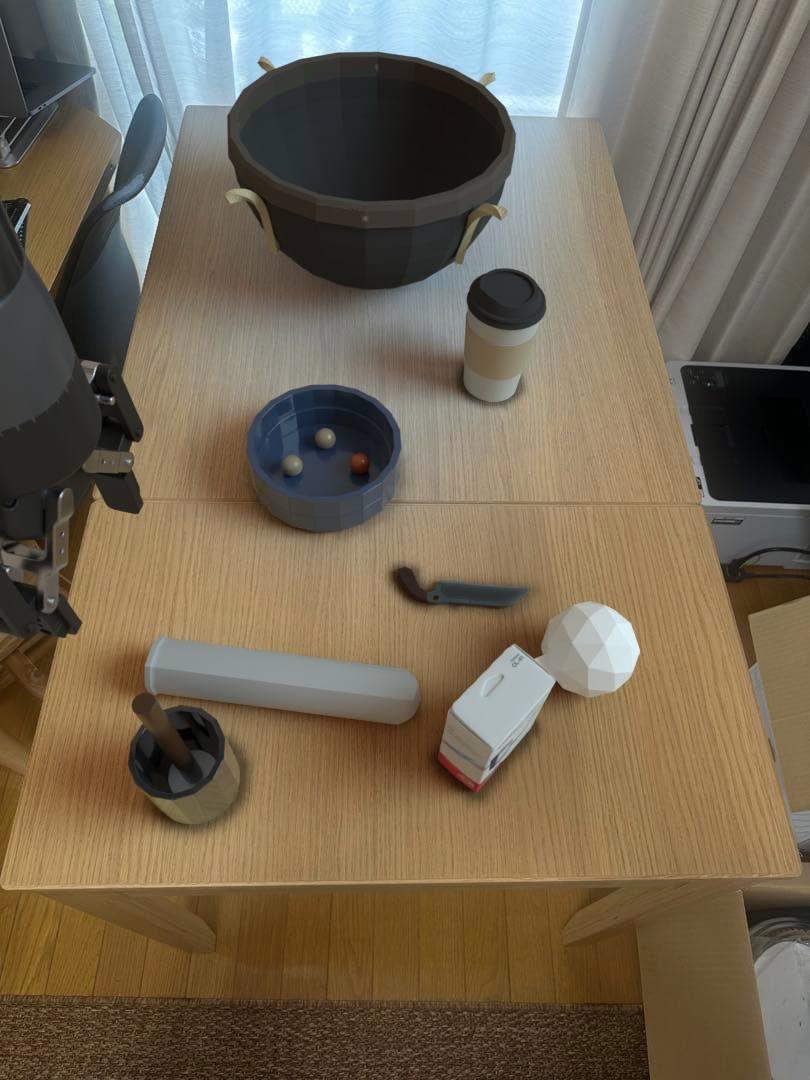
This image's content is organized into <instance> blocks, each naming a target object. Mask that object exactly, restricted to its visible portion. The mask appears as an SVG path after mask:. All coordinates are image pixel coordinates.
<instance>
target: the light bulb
mask: <svg viewBox="0 0 810 1080" xmlns="http://www.w3.org/2000/svg"><path fill="white" fill-rule="evenodd" d="M540 649H541V654H542V655H540V656H537V657H535V658H533V659H534V660H536V661H537V662H538V663H539V664H540V665H541V666H543V667H544V668H545V669H546V670H547V671H548V672H549V673H550V674H551V675H552V676H553V677H554V678H555V679H556V682H557V683H558V684H559V685H560V687H561V688H562V689H563V690H566V691H567V692H568V691H569V692H571V693H573V694H576V695H579V696H582V697H584V698H587V699H591V698H595V697H599V696H604V695H607V694H611V693H615V692H616V691H617V690H618V689H620V687H621V686H622V685H624V684H625V683H626V682H627V681H628V680H629V679H630V678H631V676H632V675H633V673H634V670H635V668H636V664H637V661H638V659H639V657H640V653H641V649H640V647H639V643H638V641H637V638H636V635H635V631H634V629H633V626H632V623H631V622H630V621H629V620H627V618H625V617H624V616H623V615H622V614H621V613H619V611H617V610H615V609H614V608H611V607H610V606H608V605H605V604H602V603H598V602H595V601H593V600H592V601H591V600H589V601H583V602H579V603H573V604H572V605H570V606H568V607H567V608H565V609H563V610H562V611H561V612H559V613H558V614H557V615H555V616H554V617H552V618H551V619H549V620H548V624H547V626H546V629H545V632H544V635H543V639H542V641H541V644H540Z"/></svg>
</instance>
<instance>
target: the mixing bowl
mask: <svg viewBox="0 0 810 1080" xmlns="http://www.w3.org/2000/svg"><path fill="white" fill-rule="evenodd" d="M322 428H328V429H330V430H332V431H333V432H334V434H335V436H336V441H335V444H334V445H333V446H332V447H331V448H329V449H322V448H320V447H319V446H318V445H317V444H316V442H315V435H316V433H317V432H318V431H319V430H320V429H322ZM402 446H403V445H402V437H401V428H400V427H399V425H398V422H397V421H396V418H395V417H394V415H393V413H392V412H391V411H390V410H389V409H388V408H387V407H386V406H385V405H383V403H382V402H381V401H380V400H378V399H377V398H376V397H374V396H372V395H370V394H367V393H366V392H364V391H362V390H360V389H357V388H354V387H349V386H345V385H339V384H334V383H333V384H331V383H330V384H328V383H327V384H325V383H324V384H309V385H306V386H301V387H297V388H293V389H290V390H287V391H285V392H284V393H282V394H280V395H279V396H276V397H274V398H273V399H271V400H270V401H269V402H268V403H267V404H265V405H264V406H263V407H262V409H260V410H259V411H258V413H256V415H255V416H254V418H253V419H252V422H251V424H250V426H249V428H248V430H247V432H246V446H245V447H246V448H245V453H246V457H247V463H248V467H249V471H250V477H251V482H252V485H253V488H254V491H255V493H256V496H257V498H258V501H259V502H260V503H261V504H262V506H264V507H265V508H266V510H267V511H268V512H269V513H270V514H271V515H272V516H273V517H275V518H277V519H278V520H280V521H282V522H284V523H286V524H288V525H289V526H292V527H294V528H298V529H302V530H306V531H311V532H319V533H321V532H340V531H344V530H347V529H350V528H355V527H357V526H360V525H363V524H365V523H366V522H368V521H369V520H371V519H373V518H374V517H375V516H377V515H379V514H380V513H382V511H383V510H384V509H385V508H386V506H387V505H388V504H389V503H390V501H391V500H392V499H393V498H394V496H395V494H396V491H397V487H398V484H399V481H400V475H401V474H400V473H401V463H402V449H403V447H402ZM356 453H363V454H365V455H367V456H368V458H369V460H370V467H369V469H368V471H367V472H365V473H363V474H356V473H354V472H353V471H352V470H351V469H350V466H349V460H350V458H351V457H352V456H353V455H354V454H356ZM288 455H296V456H298V457H299V458H300V459H301V460H302V463H303V468H302V471H301V472H300V473H299V474H298V475H296V476H289V475H287V474H285V473H284V472H283V470H282V467H281V463H282V460H283V459H284V458H285V457H286V456H288Z"/></svg>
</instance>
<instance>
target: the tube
mask: <svg viewBox="0 0 810 1080" xmlns="http://www.w3.org/2000/svg"><path fill="white" fill-rule="evenodd" d="M145 660H146V661H145V662H144V666H143V667H144V669H143V670H144V671H143V674H144V675H143V677H144V679H143V680H144V684H143V685H144V686H143V687H144V688H145V689H146V690H147V691H146V692H149V693H151V694H153V695H154V696H155V697H156V696H157V695H167V696H173V697H174V696H175V697H182V698H183V697H184V698H190V699H196V700H197V699H198V700H206V701H211V702H212V701H214V702H221V703H229V704H235V705H244V706H252V707H257V708H258V707H259V708H267V709H274V710H282V711H288V712H289V711H290V712H297V713H305V714H313V715H321V716H327V717H335V718H342V719H343V718H344V719H349V720H350V719H352V720H358V721H366V722H374V723H381V724H389V725H396V726H399V725H401V724H404V723H405V722H407V721H410V720H411V719H412V718H413V717H414V716H415V715H416V712H417V710H418V708H419V705H420V703H421V700H422V698H421V693H420V692H421V691H420V688H419V683H418V681H417V678H416V677H415V676H414V675H413V674H412V673H411V672H410V671H408V669H406V668H403V667H394V666H388V665H387V666H386V665H377V664H371V663H363V662H355V661H349V660H342V659H341V660H340V659H332V658H326V657H319V656H316V657H315V656H310V655H302V654H294V653H286V652H279V651H271V650H265V649H264V650H263V649H256V648H248V647H240V646H233V645H225V644H217V643H209V642H202V641H196V640H195V641H194V640H188V639H187V640H186V639H179V638H171V637H167V635H166V634H164V633H163V634H162V633H160V634H158V636H157V637H156V638H155V640H154V641H153V642H152V643H151V645H150V648H149V651H148V654H147V657H146V659H145Z"/></svg>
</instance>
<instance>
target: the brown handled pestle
mask: <svg viewBox="0 0 810 1080" xmlns="http://www.w3.org/2000/svg"><path fill="white" fill-rule="evenodd" d="M131 709H132V711H133V713H134V714H135V715H136V717H137V718H138V719H139V721H140V723H141V724H143V725H144V726H145V727H146V729H147V730H148V731H149V733H150V734H151V735H152V737H153V738H154V739H155V741H156V742H157V743H158V745H159V746H160V747H161V749H162V750H163V751H164V753H165V754H166V755H167V757H168V758H169V759H170V761H171V762H172V765H171V767H170V769H169V772H168V785H169V788H170V790H171V792H172V793H173V794H174V793H177V792H181V791H184V790H188V789H191V788H193V787H195V786H196V785H197V784H198V783H199V782H201V781H202V780H203V779H204V778H206V777H207V776H208V775H209V773H210V771H211V770H212V768H213V766H214V764H215V762H216V759H215V757H214V756H213V755H212V754H210V753H209V752H207V751H204V750H198V749H195V750H189V749H188V747H187V745H186V744H185V742H184V741H183V739H182V738H181V736H180V735H179V733H178V732H177V730H176V729H175V727H174V725H173V724H172V722H171V721H170V719H169V718H168V716H167V715H166V713H165V712H164V710H163V709H164V708H163V707H162V705H161V704H160V702H159V700H158V699H157V698H156V695H155V696H154V695H153V694H151V693H149V692H148V691H143V692H140V693H138V694H137V695H136V696H135V697H133V699H132V701H131Z"/></svg>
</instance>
